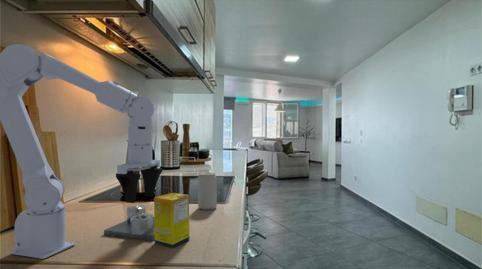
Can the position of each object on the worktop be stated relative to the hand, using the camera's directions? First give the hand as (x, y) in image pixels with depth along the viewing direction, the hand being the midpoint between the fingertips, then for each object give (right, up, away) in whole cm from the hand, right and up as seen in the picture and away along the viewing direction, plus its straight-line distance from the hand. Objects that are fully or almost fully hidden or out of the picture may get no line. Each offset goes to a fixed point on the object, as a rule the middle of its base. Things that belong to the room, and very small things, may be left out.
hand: (140, 199), depth 73 cm
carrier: (-1, -9, +5) cm, 11 cm away
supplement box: (+9, -10, -4) cm, 14 cm away
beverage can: (+14, -9, +27) cm, 31 cm away
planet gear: (0, -8, 0) cm, 8 cm away
